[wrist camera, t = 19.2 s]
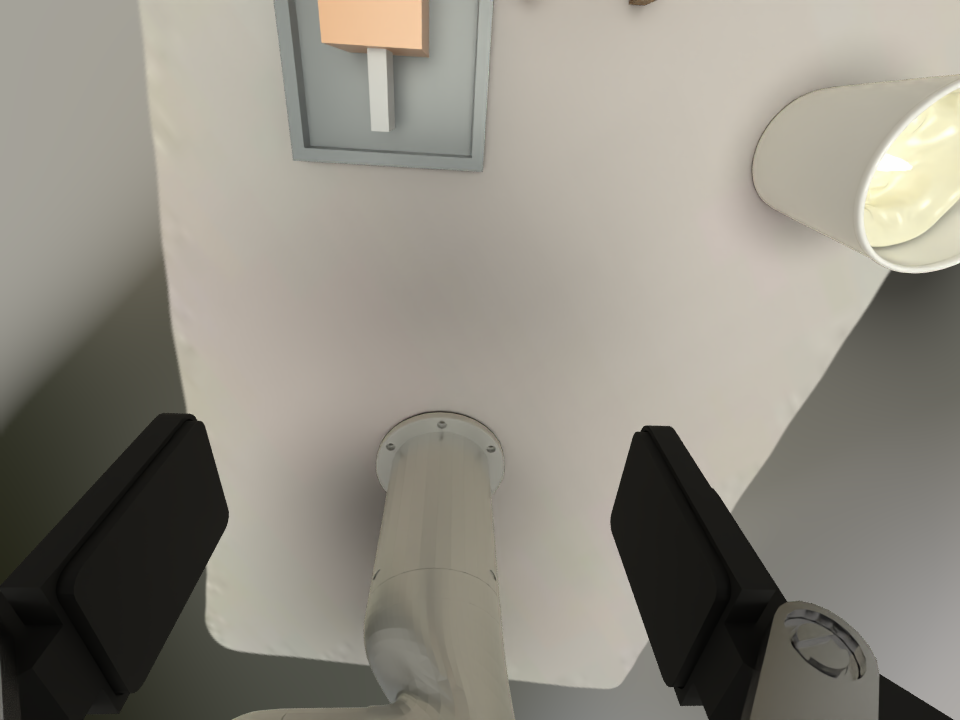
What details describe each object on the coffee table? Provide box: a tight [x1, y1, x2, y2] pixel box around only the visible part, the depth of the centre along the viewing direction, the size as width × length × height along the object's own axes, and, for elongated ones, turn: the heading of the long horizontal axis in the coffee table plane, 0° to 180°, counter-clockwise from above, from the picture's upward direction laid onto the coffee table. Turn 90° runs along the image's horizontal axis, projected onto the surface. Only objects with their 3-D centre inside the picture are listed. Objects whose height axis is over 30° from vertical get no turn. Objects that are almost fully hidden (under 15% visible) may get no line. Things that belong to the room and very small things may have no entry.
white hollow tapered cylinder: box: [752, 74, 960, 273], centre depth 29 cm, size 10×10×12 cm
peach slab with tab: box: [318, 0, 429, 132], centre depth 26 cm, size 11×5×7 cm, turn 177°
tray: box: [274, 0, 493, 172], centre depth 29 cm, size 17×13×2 cm
